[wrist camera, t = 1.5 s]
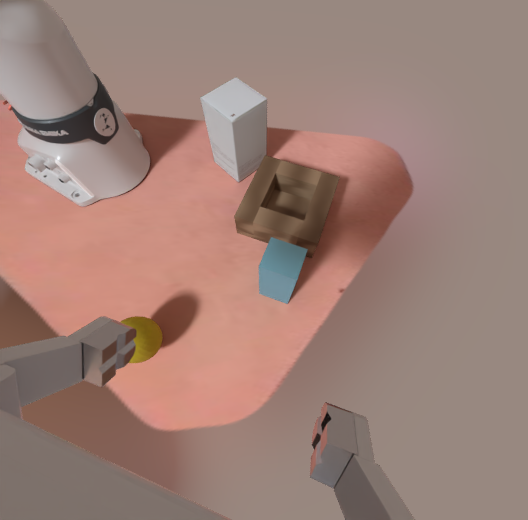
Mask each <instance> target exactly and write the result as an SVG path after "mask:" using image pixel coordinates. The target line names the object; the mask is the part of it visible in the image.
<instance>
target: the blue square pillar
mask: <svg viewBox="0 0 528 520" xmlns="http://www.w3.org/2000/svg"><path fill="white" fill-rule="evenodd" d="M307 250H308V249H305V248H302V247H299V246H296V245H293V244H290V243H287V242H284V241H281V240H278V239H275V238H273V237H271V238H270V241H269V243H268V246H267V248H266V251H265V253H264V255H263V258H262V260H261V263H260V265H259V294H262V295H265V296H267V297H270V298H273V299H275V300H278V301H281V302H284V303H286V304H288V302H289V299H290V297H291V294H292V292H293V289H294V287H295V284H296V282H297V279H298V276H299V273H300V270H301V268H302V265H303V262H304V259H305V256H306V253H307Z"/></svg>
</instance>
